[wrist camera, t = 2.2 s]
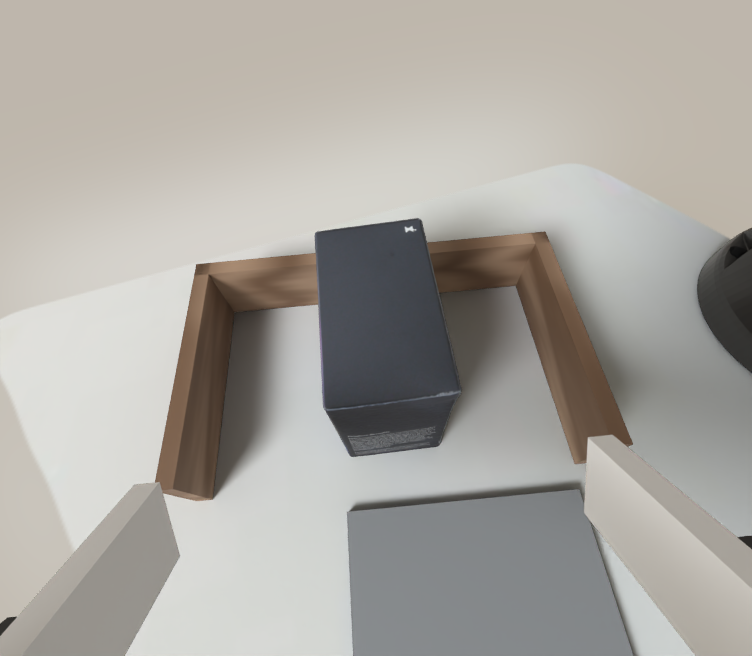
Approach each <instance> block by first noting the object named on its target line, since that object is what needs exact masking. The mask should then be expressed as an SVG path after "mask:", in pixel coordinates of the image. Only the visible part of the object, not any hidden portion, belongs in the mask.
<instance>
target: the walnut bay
mask: <svg viewBox="0 0 752 656" xmlns="http://www.w3.org/2000/svg"><path fill="white" fill-rule="evenodd" d="M427 245H428V249H429V253H430V258H431V262H432V266H433V270H434V275H435V279H436V283H437V287H438V291H439V293H443V292H454V291H464V290H475V289H485V288H496V287H507V286H516V288H517V291H518V294H519V297H520V300H521V303H522V306H523V309H524V312H525V315H526V318H527V321H528V324H529V327H530V330H531V333H532V336H533V339H534V342H535V345H536V348H537V351H538V354H539V357H540V360H541V363H542V366H543V369H544V372H545V375H546V378H547V381H548V384H549V387H550V390H551V393H552V397H553V400H554V403H555V406H556V409H557V412H558V415H559V418H560V421H561V424H562V427H563V430H564V433H565V436H566V439H567V442H568V445H569V448H570V451H571V454H572V457H573V460H574V463H575V464H582V463H587V444H588V437H595V436H605V435H613V436H615V437H616V438H617V439H618V440H620V441H621V442H622V443H623V444H624V445H626V446H627V447H628V446H630V445H633V443H632V440H631V438H630V435H629V433H628V431H627V428H626V426H625V423H624V421H623V419H622V416H621V414H620V411H619V409H618V406H617V404H616V402H615V399H614V397H613V394H612V392H611V390H610V387H609V385H608V382H607V380H606V377H605V375H604V373H603V370H602V368H601V365H600V363H599V360H598V358H597V356H596V353H595V351H594V348H593V346H592V344H591V341H590V339H589V336H588V334H587V331H586V329H585V327H584V324H583V322H582V319H581V317H580V315H579V312H578V310H577V307H576V305H575V302H574V300H573V298H572V295H571V293H570V290H569V288H568V286H567V283H566V281H565V278H564V276H563V273H562V271H561V269H560V266H559V264H558V261H557V259H556V257H555V254H554V252H553V249H552V247H551V244H550V242H549V240H548V237H547V235H546V232H536V233H525V234H515V235H504V236H493V237H483V238H472V239H461V240H451V241H440V242H430V243H427ZM316 304H318V288H317V270H316V253H312V254H302V255H291V256H280V257H270V258H259V259H248V260H238V261H227V262H216V263H206V264H196V269H195V274H194V280H193V285H192V290H191V295H190V301H189V306H188V311H187V317H186V322H185V327H184V332H183V338H182V343H181V348H180V353H179V359H178V364H177V369H176V374H175V380H174V385H173V390H172V395H171V401H170V406H169V411H168V416H167V422H166V427H165V432H164V437H163V443H162V448H161V453H160V458H159V464H158V469H157V474H156V480H155V483H156V482H160V485H161V489H162V493H164V494H169V495H173V496H177V497H181V498H186V499H190V500H194V501H202V500H213V491H214V483H215V474H216V466H217V457H218V449H219V440H220V432H221V423H222V415H223V406H224V398H225V389H226V381H227V372H228V363H229V355H230V346H231V338H232V329H233V321H234V312H242V311H253V310H264V309H274V308H285V307H295V306H306V305H316Z"/></svg>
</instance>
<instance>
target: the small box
mask: <svg viewBox="0 0 752 656" xmlns="http://www.w3.org/2000/svg"><path fill="white" fill-rule="evenodd" d="M315 250H316V270H317V288H318V307H319V328H320V349H321V372H322V394H323V408H324V410H325V411H326V413H327V415H328V416H329V418H330V420H331V422H332V423H333V425H334V427H335V429H336V431H337V432H338V434H339V436H340V438H341V440H342V442H343V443H344V445H345V447H346V449H347V451H348V453H349V455H350V456H351V457H356V456H364V455H375V454H382V453H390V452H398V451H406V450H413V449H422V448H430V447H437V446H439V445H440V443H441V439H442V436H443V433H444V430H445V427H446V424H447V422H448V419H449V416H450V414H451V411H452V408H453V406H454V404H455V402H456V400H457V398H458V397H459V396H460V394H461V392H462V388H461V385H460V380H459V376H458V372H457V367H456V363H455V359H454V354H453V350H452V346H451V342H450V338H449V333H448V329H447V325H446V320H445V317H444V312H443V308H442V303H441V299H440V295H439V291H438V287H437V283H436V279H435V275H434V270H433V266H432V262H431V258H430V253H429V249H428V245H427V241H426V236H425V233H424V228H423V224H422V221H421V219H419V218H415V219H408V220H401V221H394V222H385V223H378V224H370V225H362V226H355V227H347V228H340V229H332V230H325V231H317V232H316V233H315Z"/></svg>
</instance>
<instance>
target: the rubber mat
mask: <svg viewBox="0 0 752 656" xmlns="http://www.w3.org/2000/svg"><path fill="white" fill-rule="evenodd" d="M347 523H348V546H349V569H350V593H351V616H352V639H353V656H633V653H632V650H631V646H630V643H629V640H628V637H627V634H626V631H625V628H624V625H623V622H622V619H621V616H620V613H619V610H618V607H617V603H616V600H615V597H614V594H613V591H612V588H611V585H610V582H609V579H608V576H607V573H606V570H605V567H604V564H603V560H602V557H601V554H600V551H599V548H598V545H597V542H596V539H595V536H594V533H593V530H592V527H591V524H590V521H589V519H588V517H587V516H586V515H585V514H584V502H583V499H582V496H581V493H580V490H579V489H575V490H565V491H554V492H544V493H534V494H524V495H514V496H503V497H493V498H483V499H473V500H463V501H452V502H442V503H432V504H422V505H412V506H401V507H391V508H381V509H371V510H361V511H350V512H347Z"/></svg>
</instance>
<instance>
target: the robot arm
mask: <svg viewBox="0 0 752 656" xmlns="http://www.w3.org/2000/svg"><path fill="white" fill-rule="evenodd" d="M698 299H699V303H700V307H701V310H702V313H703V315H704V317H705V319H706V322H707V323H708V325H709V327H710V329H711V330H712V332H713V333H714V335H715V336H716V337H717V339H718V340H719V341H720V343H721V344H722V345H723V346H724V347H725V348H726V349H727V351H728V352H729V353H730V354H731V355H732V356H733V357H734V358H735V359H736V360H737V361H739V362H740V363H741V364H742V365H743V366H744V367H745V368H747V369H748V370H749V371H751V372H752V228H750V229H748V230H746V231H744V232H742V233H740V234H739V235H737V236H736V237H734V238H733V239H731V240H730V241H729V242H728V243H727V244H725V245H724V246H723V247H722V248H721V249H720V250H719V251H718V252H717V253H716V254H714V255H713V256H712V257H711V258H710V259H709V260H708V261H707V262H706V264H705V265H704V267H703V269H702V271H701V273H700V276H699V280H698ZM584 514H585V515H586V516H587V517H588V519H589V520H590V521H591V522H592V524H593V525H594V526H595V528H596V529H597V530H598V531H599V533H600V534H601V535H602V537H603V538H604V539H605V540H606V542H607V543H608V544H609V546H610V547H611V548H612V549H613V551H614V552H615V553H616V554H617V556H618V557H619V558H620V560H621V561H622V562H623V563H624V565H625V566H626V567H627V569H628V570H629V571H630V572H631V574H632V575H633V576H634V578H635V579H636V580H637V581H638V583H639V584H640V585H641V586H642V588H643V589H644V590H645V592H646V593H647V594H648V595H649V597H650V598H651V599H652V601H653V602H654V603H655V604H656V606H657V607H658V608H659V610H660V611H661V612H662V613H663V615H664V616H665V617H666V618H667V620H668V621H669V622H670V624H671V625H672V626H673V627H674V629H675V630H676V631H677V633H678V634H679V635H680V636H681V638H682V639H683V640H684V642H685V643H686V644H687V645H688V647H689V648H690V649H691V650H692V652H693V653H694V654H695V656H752V536H744V537H736V536H735V535H734V534H733V533H731V532H730V531H729V530H728V529H726V528H725V527H724V526H723V525H722V524H720V523H719V522H718V521H717V520H716V519H714V518H713V517H712V516H711V515H709V514H708V513H707V512H706V511H705V510H703V509H702V508H701V507H700V506H699V505H697V504H696V503H695V502H694V501H692V500H691V499H690V498H689V497H688V496H686V495H685V494H684V493H683V492H682V491H680V490H679V489H678V488H677V487H675V486H674V485H673V484H672V483H671V482H669V481H668V480H667V479H666V478H664V477H663V476H662V475H661V474H660V473H658V472H657V471H656V470H655V469H654V468H652V467H651V466H650V465H649V464H647V463H646V462H645V461H644V460H643V459H641V458H640V457H639V456H638V455H637V454H635V453H634V452H633V451H632V450H630V449H629V448H628V447H627V446H626V445H624V444H623V443H622V442H621V441H620V440H618V439H617V438H616V437H615V436H613V435H605V436H595V437H588V444H587V463H586V482H585V501H584ZM179 557H180V554H179V550H178V547H177V543H176V540H175V536H174V532H173V529H172V525H171V521H170V518H169V514H168V511H167V507H166V503H165V500H164V496H163V493H162V489H161V485H160V482H156V483H146V484H137V485H134V486H133V487H132V488H131V489H130V490H129V491H128V492H127V494H126V495H125V496H124V497H123V498H122V499H121V500H120V501H119V503H118V504H117V505H116V506H115V507H114V508H113V509H112V510H111V512H110V513H109V514H108V515H107V516H106V517H105V518H104V520H103V521H102V522H101V523H100V524H99V525H98V526H97V527H96V529H95V530H94V531H93V532H92V533H91V534H90V535H89V536H88V538H87V539H86V540H85V541H84V542H83V543H82V544H81V545H80V547H79V548H78V549H77V550H76V551H75V552H74V553H73V555H72V556H71V557H70V558H69V559H68V560H67V561H66V562H65V564H64V565H63V566H62V567H61V568H60V569H59V570H58V571H57V573H56V574H55V575H54V576H53V577H52V578H51V579H50V580H49V582H48V583H47V584H46V585H45V586H44V587H43V589H42V590H41V591H40V592H39V593H38V594H37V595H36V596H35V597H34V599H33V600H32V601H31V602H30V603H29V604H28V605H27V606H26V608H25V609H24V610H23V611H22V612H21V613H20V614H19V615H18V617H9V618H7V619H6V620H4V621H3V622H2V623H1V624H0V656H125V654H126V653H127V651H128V649H129V647H130V645H131V644H132V642H133V640H134V638H135V636H136V634H137V633H138V631H139V629H140V627H141V625H142V624H143V622H144V620H145V618H146V616H147V615H148V613H149V611H150V609H151V607H152V606H153V604H154V602H155V600H156V598H157V597H158V595H159V593H160V591H161V589H162V588H163V586H164V584H165V582H166V580H167V578H168V577H169V575H170V573H171V571H172V569H173V568H174V566H175V564H176V562H177V560H178V559H179Z"/></svg>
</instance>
